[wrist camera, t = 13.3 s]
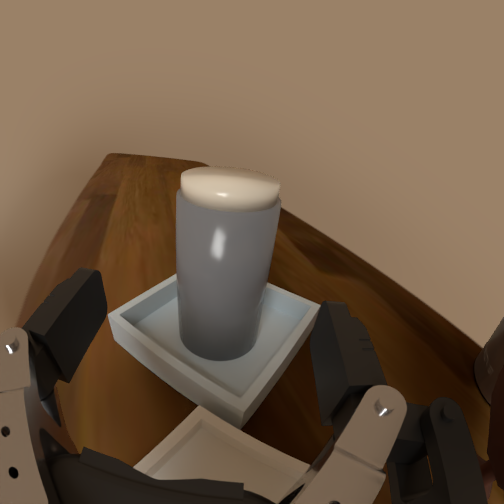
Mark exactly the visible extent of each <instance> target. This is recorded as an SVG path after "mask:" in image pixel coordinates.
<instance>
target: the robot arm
mask: <svg viewBox="0 0 504 504" xmlns="http://www.w3.org/2000/svg"><path fill="white" fill-rule="evenodd" d="M106 314H107V301H106V296H105V292H104V287H103V282H102V277H101V273H100V272H99V271H98V270H92V269H87V268H79V269H78V270H77V271H76V272H75V273H74V274H73V276H72V277H71V278H70V279H69V278H68V279H67V280H65V281H63V282H62V283H60V284H58V285H57V286H56V287H55V289H54V290H53V291H52V292H51V293H50V296H49V295H48V297H47V298H46V299H45V300H44V303H42V304H41V305H40V306H39V307H38V308H37V310H36V311H35V312H34V313H33V315H32V316H31V317H30V318H29V320H28V321H27V322H26V323H25V325H24V326H23V327H22V328H17V327H14V328H10V329H7V330H5V331H4V332H2V333H1V334H0V504H276V503H274V502H272V501H271V500H269V499H267V498H265V497H263V496H261V495H259V494H256V493H254V492H251V491H247V490H244V483H239V482H227V481H217V480H209V479H202V478H200V479H180V480H158V479H154V478H152V477H150V476H148V475H146V474H144V473H142V472H140V471H138V470H136V469H135V468H133V467H131V466H129V465H127V464H126V463H124V462H122V461H120V460H119V459H116V458H113V457H110V456H107V455H104V454H101V453H99V452H96V451H93V450H91V449H88V448H86V447H83V450H82V453H81V454H79V453H78V450H77V448H76V446H75V444H74V443H73V441H72V439H71V438H70V436H69V433H68V431H67V428H66V424H65V420H64V416H63V412H62V408H61V404H60V399H59V394H58V390H57V387H56V385H55V384H56V382H57V380H58V379H59V380H62V381H64V382H67V383H70V381H71V379H72V377H73V375H74V373H75V371H76V369H77V367H78V366H79V364H80V362H81V360H82V358H83V356H84V354H85V353H86V351H87V349H88V347H89V346H90V344H91V342H92V340H93V339H94V337H95V335H96V333H97V332H98V330H99V328H100V327H101V325H102V323H103V322H104V320H105V318H106ZM310 352H311V358H312V364H313V370H314V376H315V383H316V389H317V396H318V403H319V410H320V417H321V424H322V426H328V425H333V430H334V433H333V435H332V436H331V437H330V439H329V440H328V442H327V443H326V445H325V446H324V447H323V449H322V450H321V452H320V453H319V454H318V456H317V457H316V458H315V460H314V461H313V462H312V464H311V465H310V466H309V468H308V469H307V470H306V471H305V473H304V474H303V475H302V476H301V477H300V479H299V480H298V481H297V482H296V483H295V484H294V485H293V486H292V487H291V488H290V489H289V490H288V492H287V493H286V494H285V495H284V496H283V497H282V498H281V499H280V500H279V502H278V503H277V504H372V503H373V501H374V500H375V498H376V496H377V494H378V492H379V491H380V489H381V487H382V485H383V483H384V480H385V477H386V473H385V472H384V471H383V466H384V464H385V462H387V468H388V475H389V483H390V491H391V500H392V504H488V502H487V497H486V492H485V487H484V482H483V478H482V474H481V470H480V466H479V462H478V458H477V455H476V451H475V448H474V445H473V441H472V438H471V435H470V432H469V429H468V426H467V423H466V420H465V418H464V415H463V412H462V410H461V408H460V406H459V405H458V404H457V403H456V402H455V401H454V400H452V399H450V398H447V397H440V398H437V399H435V400H434V401H433V402H432V403H431V404H430V405H429V406H423V405H417V404H412V403H407V402H406V401H405V399H404V397H403V396H402V395H401V393H400V392H398V391H397V390H396V389H394V388H392V387H390V386H388V385H387V383H386V380H385V377H384V374H383V371H382V369H381V366H380V363H379V360H378V358H377V355H376V352H375V351H374V347H373V344H372V342H371V341H370V337H369V334H368V331H367V329H366V327H365V326H364V325H363V324H362V323H361V322H360V320H359V319H358V318H355V317H351V316H350V313H349V311H348V308H347V305H346V304H345V303H344V302H332V301H323V303H322V304H321V307H320V310H319V313H318V316H317V319H316V321H315V324H314V327H313V330H312V333H311V337H310ZM503 365H504V317H503V319H502V320H501V322H500V324H499V325H498V327H497V328H496V330H495V332H494V333H493V335H492V336H491V338H490V339H489V341H488V342H487V343H486V344H485V346H484V348H483V349H482V351H481V352H480V353H479V355H478V356H477V358H476V360H475V364H474V372H475V377H476V381H477V384H478V386H479V388H480V390H481V392H482V394H483V396H484V397H485V399H486V400H487V402H488V403H489V404H490V405H491V395H492V392H493V389H494V386H495V384H496V381H497V378H498V375H499V373H500V371H501V369H502V367H503ZM427 455H428V457H429V461H430V466H431V471H432V476H433V485H432V479H431V474H430V469H429V464H428V460H427Z"/></svg>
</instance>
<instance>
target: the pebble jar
mask: <svg viewBox="0 0 504 504" xmlns="http://www.w3.org/2000/svg"><path fill="white" fill-rule="evenodd" d="M279 190H280V182H279V180H277V179H276V178H274V177H272V176H270V175H267V174H265V173H261V172H258V171H253V170H249V169H242V168H234V167H220V166H219V167H218V166H217V167H216V166H214V167H213V166H212V167H199V168H193V169H189V170H186V171H184V172H183V173H182V174H181V188H180V189H179V190H178V191H177V200H176V273H177V301H178V320H179V334H180V338H181V341H182V343H183V344H184V346H185V347H186V348H187V349H188V350H189V351H190V352H192V353H193V354H195V355H197V356H199V357H201V358H204V359H207V360H212V361H229V360H234V359H237V358H239V357H242V356H244V355H245V354H247V353H248V352H249V351H250V350H251V349H252V348H253V347H254V345H255V343H256V340H257V335H258V330H259V324H260V319H261V314H262V309H263V303H264V298H265V293H266V287H267V282H268V276H269V271H270V265H271V260H272V254H273V248H274V243H275V237H276V231H277V225H278V219H279V214H280V208H281V200H280V198H279V197H278V196H279Z"/></svg>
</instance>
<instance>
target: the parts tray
mask: <svg viewBox="0 0 504 504" xmlns="http://www.w3.org/2000/svg"><path fill="white" fill-rule="evenodd" d="M309 466H310V465H309V464H307V463H304V462H302V461H300V460H298V459H295V458H293V457H291V456H289V455H287V454H285V453H282V452H280V451H278V450H276V449H274V448H272V447H270V446H268V445H266V444H264V443H263V442H261V441H259V440H257V439H255V438H253V437H251V436H250V435H248V434H246V433H244V432H242V431H241V430H239V429H237V428H235V427H234V426H232V425H230V424H229V423H227V422H225V421H224V420H222V419H220V418H219V417H217V416H216V415H214V414H212V413H211V412H209V411H208V410H206V409H205V408H203V407H202V406H200V405H199V406H198V407H197V408H196V409H195V410H194V411H193V412H192V413H191V414H190V415H189V416H188V417H187V418H186V419H185V420H184V421H183V422H181V423H180V424H179V425H178V426H177V427H176V428H175V429H174V430H173V431H172V432H171V433H170V434H169V435H168V436H167V437H166V438H165V439H164V440H163V441H162V442H161V443H159V444H158V445H157V446H156V447H155V448H154V449H153V450H152V451H151V452H150V453H149V454H147V455H146V456H145V457H144V458H143V459H142V460H141V461H140V462H139V463H137V464H136V465H135V466H134V467H133V468H135V469H136V470H138V471H140V472H142V473H144V474H146V475H148V476H150V477H152V478H154V479H158V480H180V479H200V478H202V479H209V480H217V481H227V482H239V483H244V490H247V491H251V492H254V493H256V494H259V495H261V496H263V497H265V498H267V499H269V500H271V501H272V502H274V503H276V504H277V503H278V502H279V500H280V499H281V498H282V497H283V496H284V495H285V494H286V493H287V492H288V490H289V489H290V488H291V487H292V486H293V485H294V484H295V483H296V482H297V481H298V480H299V479H300V477H301V476H302V475H303V474H304V473H305V471H306V470H307V469H308V468H309Z"/></svg>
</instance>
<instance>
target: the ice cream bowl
mask: <svg viewBox="0 0 504 504" xmlns="http://www.w3.org/2000/svg"><path fill="white" fill-rule="evenodd" d="M487 454H488V456H489V460H488V461H485V460H483V459H482V458H481V457H479V456H478V455H477V454H476V455H477V458H478V462H479V466H480V470H481V474H482V478H483V482H484V487H485V492H486V497H487V500H488V499H489V497H490V493H491V488H492V483H493V481H495V480H496V481H497V484H498V486H499V487H500V488H501V489H503V490H504V365H503V367H502V369H501V371H500V373H499V375H498V378H497V381H496V384H495V386H494V389H493V392H492V395H491V411H490V426H489V438H488V447H487Z"/></svg>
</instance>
